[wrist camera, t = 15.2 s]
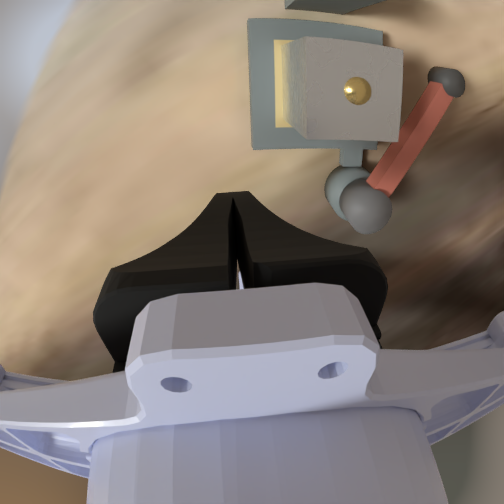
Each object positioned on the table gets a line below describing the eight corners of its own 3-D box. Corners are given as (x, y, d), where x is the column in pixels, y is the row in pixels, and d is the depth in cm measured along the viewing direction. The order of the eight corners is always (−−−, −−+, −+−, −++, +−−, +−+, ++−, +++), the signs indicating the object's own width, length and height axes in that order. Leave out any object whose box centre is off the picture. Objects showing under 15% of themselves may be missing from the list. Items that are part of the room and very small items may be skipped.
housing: (354, 119, 18) (398, 142, 13) (283, 118, 18) (306, 140, 13) (355, 50, 16) (404, 50, 11) (281, 45, 15) (305, 36, 10)
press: (367, 208, 24) (420, 276, 17) (254, 214, 23) (269, 293, 16) (378, -13, 13) (456, -35, 6) (245, -29, 13) (260, -86, 6)
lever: (455, 83, 16) (474, 88, 14) (362, 225, 22) (373, 240, 20) (428, 55, 15) (447, 57, 13) (330, 207, 21) (340, 222, 19)
